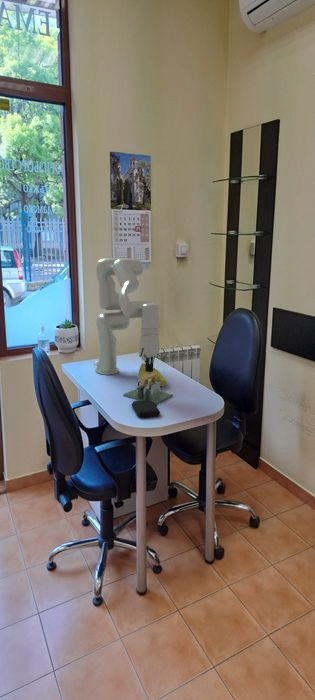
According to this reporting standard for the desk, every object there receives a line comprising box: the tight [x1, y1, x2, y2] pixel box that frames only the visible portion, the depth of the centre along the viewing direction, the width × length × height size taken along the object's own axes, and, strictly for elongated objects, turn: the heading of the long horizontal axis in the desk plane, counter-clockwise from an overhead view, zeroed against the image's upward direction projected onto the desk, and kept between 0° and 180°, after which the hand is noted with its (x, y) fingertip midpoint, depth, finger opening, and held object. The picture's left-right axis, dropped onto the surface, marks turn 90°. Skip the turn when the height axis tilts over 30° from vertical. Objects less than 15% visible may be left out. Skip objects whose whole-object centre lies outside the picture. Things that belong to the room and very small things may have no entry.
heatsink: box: [122, 380, 174, 405], centre depth 204 cm, size 18×15×7 cm
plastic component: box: [137, 362, 168, 388], centre depth 224 cm, size 20×7×10 cm
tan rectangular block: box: [140, 373, 157, 388], centre depth 203 cm, size 2×9×4 cm, turn 147°
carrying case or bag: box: [131, 400, 161, 419], centre depth 186 cm, size 11×3×15 cm
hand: (149, 371), depth 201 cm, fingers closed
